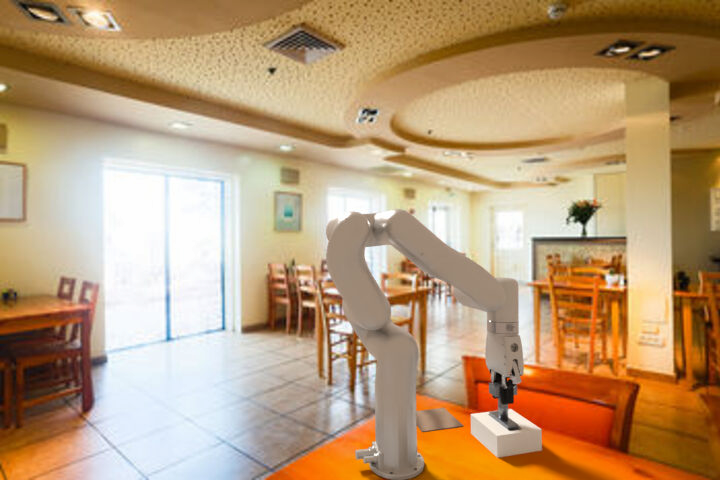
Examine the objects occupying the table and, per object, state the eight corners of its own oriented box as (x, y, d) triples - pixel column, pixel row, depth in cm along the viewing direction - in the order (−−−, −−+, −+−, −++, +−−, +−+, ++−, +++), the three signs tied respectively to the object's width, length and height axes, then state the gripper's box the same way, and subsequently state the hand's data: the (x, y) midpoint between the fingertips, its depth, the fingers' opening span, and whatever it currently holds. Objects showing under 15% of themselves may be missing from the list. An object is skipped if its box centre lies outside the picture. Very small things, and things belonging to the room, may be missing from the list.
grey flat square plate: (422, 435, 104) (422, 431, 104) (406, 416, 115) (406, 412, 115) (463, 430, 107) (463, 425, 107) (443, 411, 118) (443, 407, 118)
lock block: (497, 461, 91) (497, 435, 91) (471, 437, 103) (470, 414, 103) (541, 454, 94) (541, 429, 94) (511, 431, 106) (510, 408, 106)
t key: (523, 431, 95) (523, 388, 95) (502, 434, 94) (501, 390, 94) (504, 417, 103) (504, 377, 103) (483, 420, 101) (483, 379, 101)
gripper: (537, 333, 91) (537, 412, 91) (497, 320, 107) (497, 387, 107) (509, 335, 90) (509, 416, 89) (472, 321, 105) (472, 390, 105)
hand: (502, 399), depth 98 cm, fingers closed on t key, 3 cm apart
